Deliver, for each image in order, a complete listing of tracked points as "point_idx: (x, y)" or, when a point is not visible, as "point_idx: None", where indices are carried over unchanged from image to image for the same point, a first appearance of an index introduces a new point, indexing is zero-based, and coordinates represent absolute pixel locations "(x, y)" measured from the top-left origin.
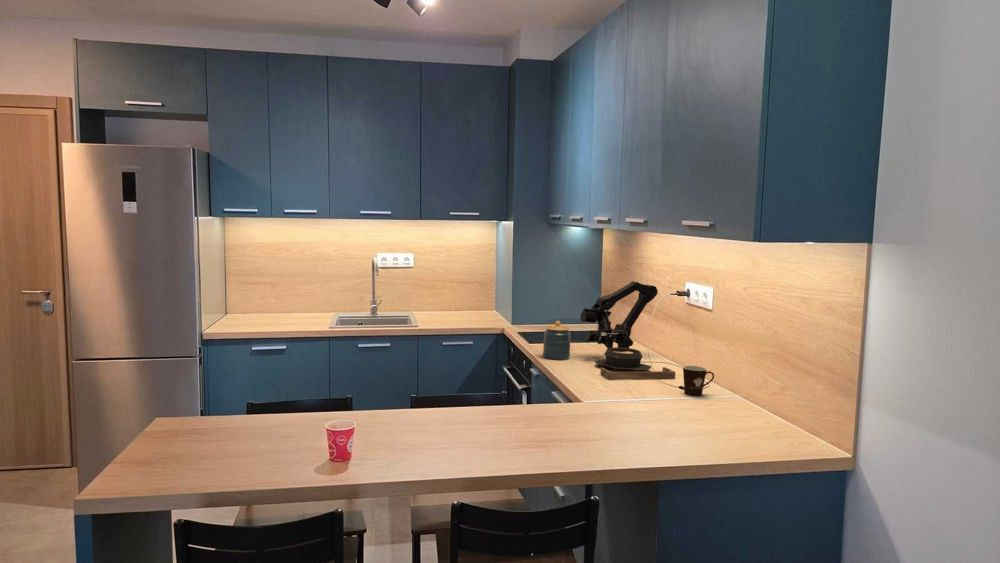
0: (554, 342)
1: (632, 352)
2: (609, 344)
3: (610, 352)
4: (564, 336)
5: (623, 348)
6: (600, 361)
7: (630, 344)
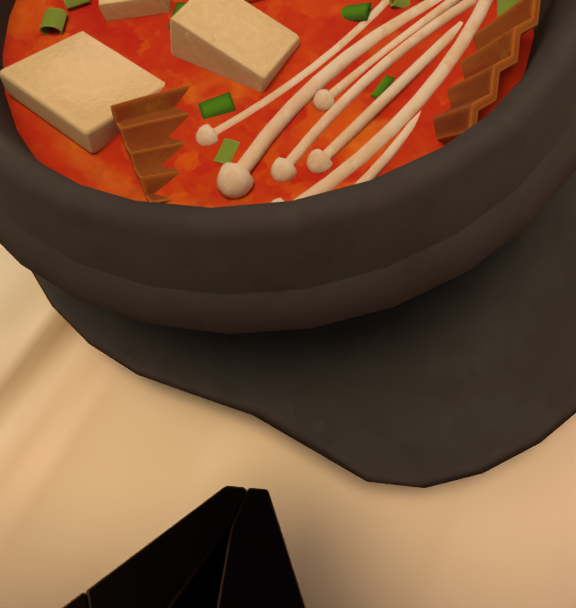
0: None
1: (18, 63)
2: (251, 587)
3: None
4: None
5: (65, 179)
6: (555, 291)
7: None
